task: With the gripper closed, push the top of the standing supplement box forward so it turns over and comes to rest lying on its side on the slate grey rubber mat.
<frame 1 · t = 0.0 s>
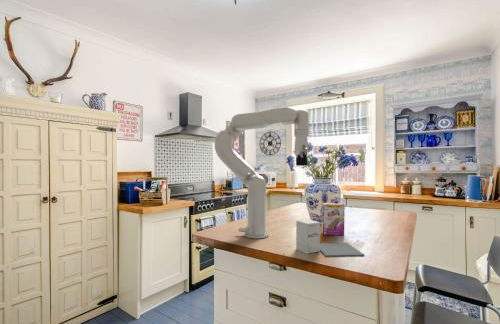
hand: (301, 165, 137), 37 cm above the counter, tool pointing down, fingers open, 9 cm apart
candy bar box: (332, 234, 138), on the counter
supplement box: (307, 251, 111), on the counter
mat: (337, 249, 112), on the counter
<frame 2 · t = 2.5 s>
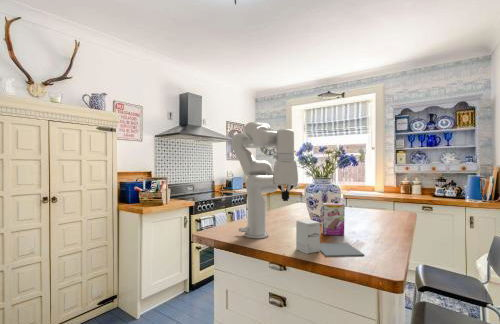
hand: (285, 200, 111), 22 cm above the counter, tool pointing down, fingers closed
nothing on the counter moved.
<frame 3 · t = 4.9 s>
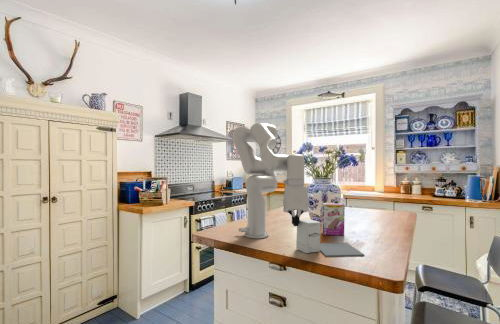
hand: (295, 225, 111), 11 cm above the counter, tool pointing down, fingers closed
supplement box: (307, 250, 111), on the counter, touching gripper
everything else where it was.
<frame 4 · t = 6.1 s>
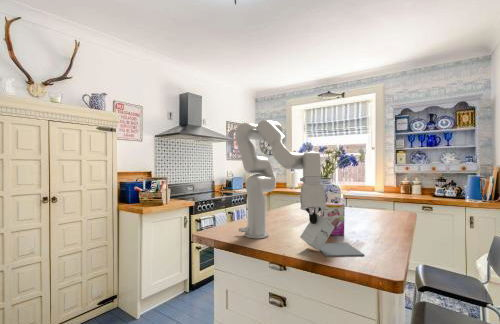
hand: (313, 223, 111), 12 cm above the counter, tool pointing down, fingers closed
supplement box: (309, 244, 111), point 2 cm above the counter, touching gripper, mat
everything else where it was.
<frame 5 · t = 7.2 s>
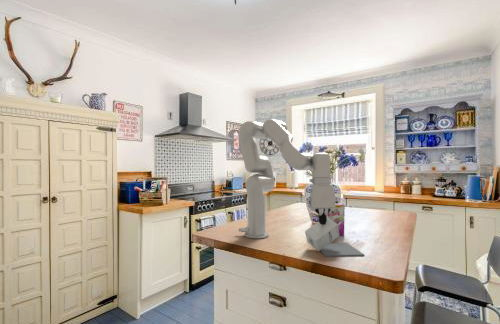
hand: (322, 223, 111), 11 cm above the counter, tool pointing down, fingers closed
supplement box: (311, 241, 111), point 4 cm above the counter, touching gripper, mat
everything else where it was.
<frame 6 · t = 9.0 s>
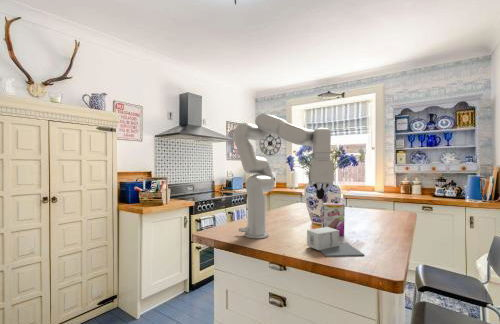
hand: (320, 198, 112), 22 cm above the counter, tool pointing down, fingers closed
supplement box: (311, 240, 113), point 4 cm above the counter, touching mat
everything else where it was.
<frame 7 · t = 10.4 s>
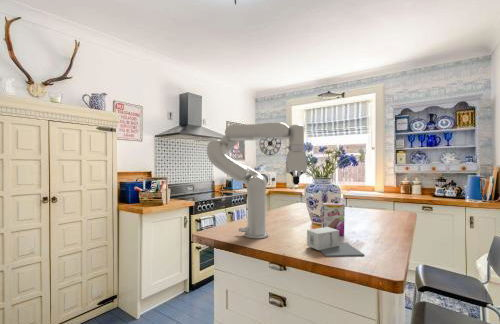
hand: (296, 184, 133), 27 cm above the counter, tool pointing down, fingers closed
nothing on the counter moved.
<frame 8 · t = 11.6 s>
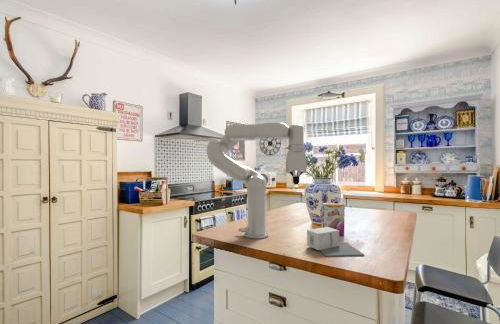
hand: (296, 184, 133), 27 cm above the counter, tool pointing down, fingers closed
nothing on the counter moved.
at the end: supplement box tilted 89°; supplement box touching mat; the gripper is holding nothing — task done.
